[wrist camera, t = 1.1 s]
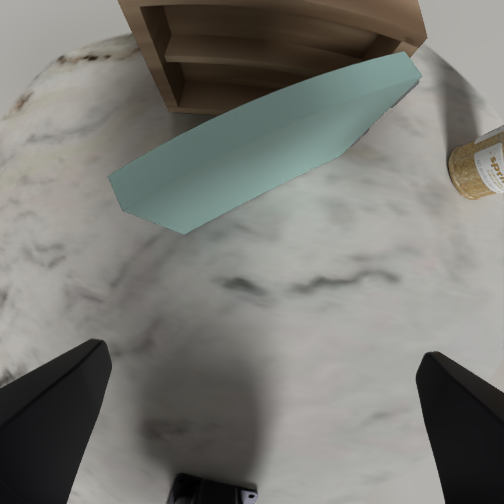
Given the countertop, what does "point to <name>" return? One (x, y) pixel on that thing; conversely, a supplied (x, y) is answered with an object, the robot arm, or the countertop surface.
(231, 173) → the door
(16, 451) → the robot arm
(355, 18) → the cabinet
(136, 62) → the countertop surface
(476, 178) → the sprinkles bottle
